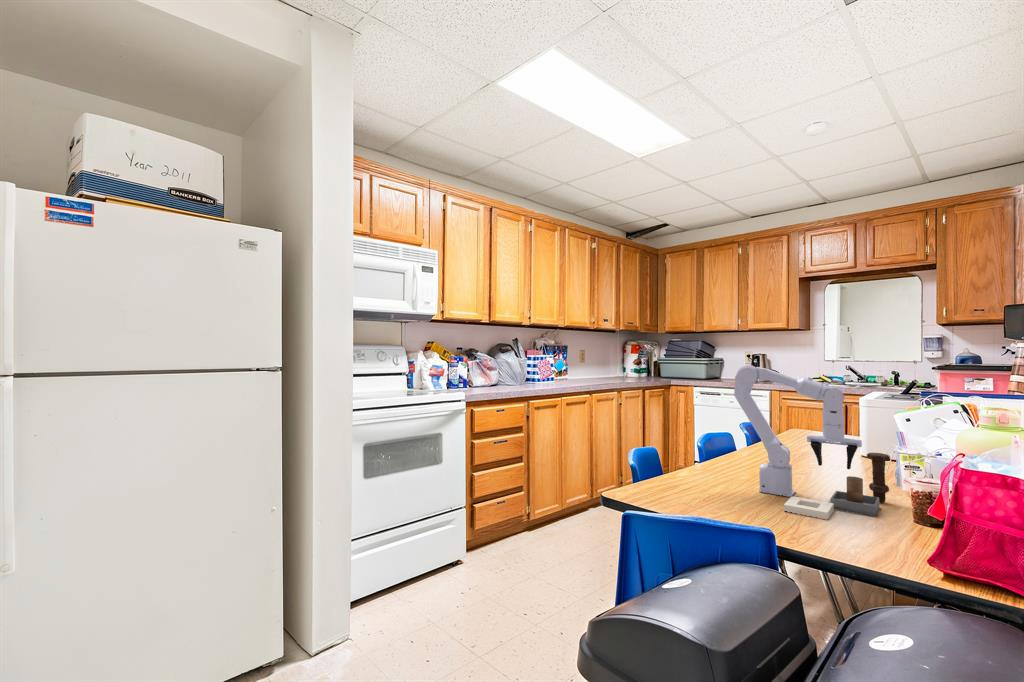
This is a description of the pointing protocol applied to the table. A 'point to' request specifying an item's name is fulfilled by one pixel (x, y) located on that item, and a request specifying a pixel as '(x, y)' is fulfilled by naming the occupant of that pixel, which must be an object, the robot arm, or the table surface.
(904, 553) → the table surface
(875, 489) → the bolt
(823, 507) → the socket block
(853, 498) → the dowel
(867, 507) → the tray
